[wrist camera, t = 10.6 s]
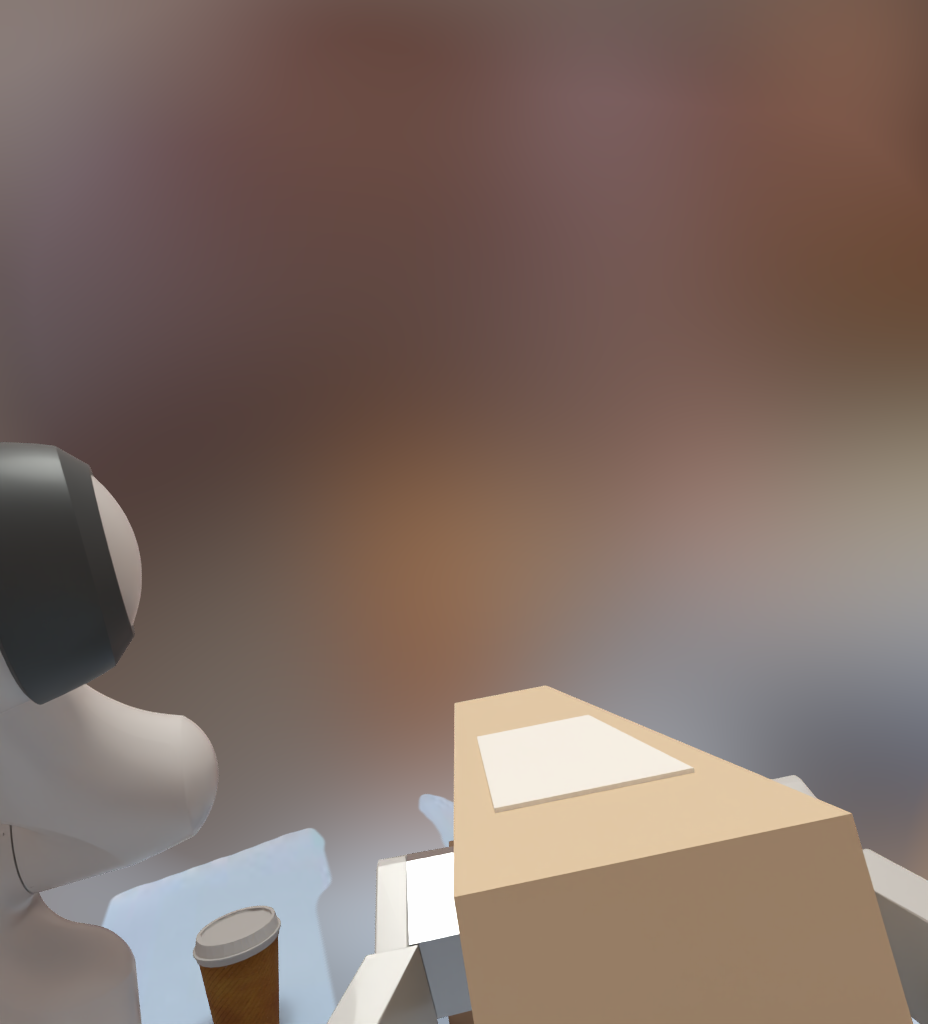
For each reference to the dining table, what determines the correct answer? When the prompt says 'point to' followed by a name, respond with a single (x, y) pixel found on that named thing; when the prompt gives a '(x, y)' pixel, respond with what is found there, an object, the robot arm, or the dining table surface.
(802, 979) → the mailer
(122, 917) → the dining table surface
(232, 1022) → the disposable coffee cup
